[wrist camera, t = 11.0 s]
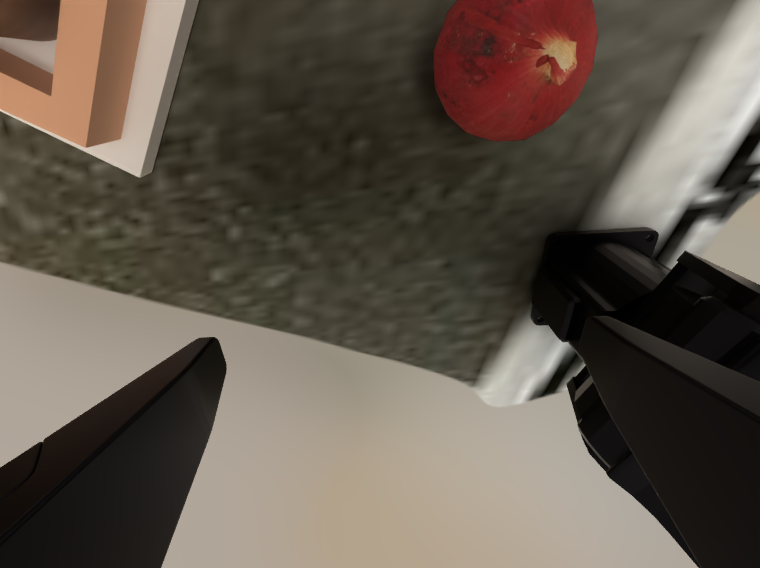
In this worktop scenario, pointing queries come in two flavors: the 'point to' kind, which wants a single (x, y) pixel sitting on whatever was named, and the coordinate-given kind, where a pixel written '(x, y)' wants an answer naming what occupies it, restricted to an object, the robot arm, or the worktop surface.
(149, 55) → the mount board
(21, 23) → the gray-capped wooden tube
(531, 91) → the red oval fruit
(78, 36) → the socket
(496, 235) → the worktop surface
